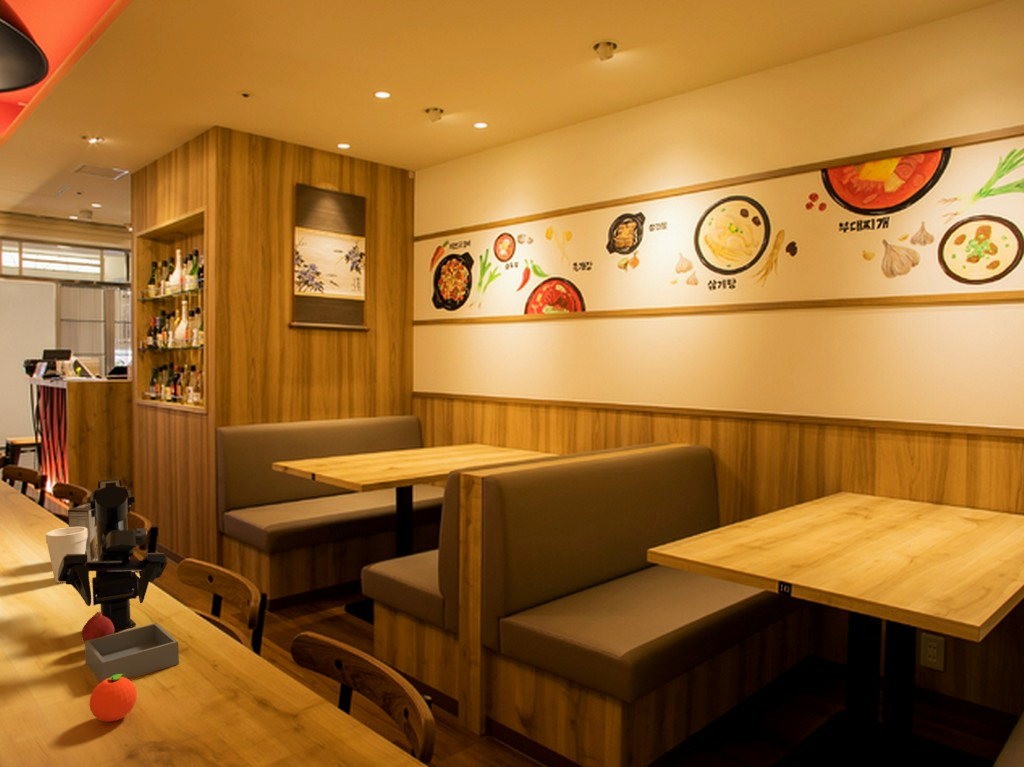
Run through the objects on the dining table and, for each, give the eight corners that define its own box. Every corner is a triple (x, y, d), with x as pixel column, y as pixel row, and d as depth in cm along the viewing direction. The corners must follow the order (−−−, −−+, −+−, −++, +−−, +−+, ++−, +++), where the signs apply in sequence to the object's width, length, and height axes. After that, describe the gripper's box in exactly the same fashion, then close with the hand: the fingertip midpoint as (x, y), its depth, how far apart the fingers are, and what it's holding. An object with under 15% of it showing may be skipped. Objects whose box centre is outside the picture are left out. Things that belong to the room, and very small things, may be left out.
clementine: (106, 706, 124) (104, 666, 124) (147, 704, 124) (145, 664, 124) (81, 731, 116) (79, 688, 116) (125, 729, 116) (124, 686, 116)
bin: (85, 663, 140) (84, 641, 140) (157, 643, 150) (156, 622, 149) (103, 686, 131) (102, 662, 131) (179, 664, 140) (178, 641, 140)
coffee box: (89, 555, 213) (87, 502, 212) (110, 555, 212) (108, 502, 211) (69, 565, 204) (66, 509, 203) (91, 565, 203) (88, 509, 202)
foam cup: (74, 584, 187) (72, 535, 186) (39, 584, 187) (37, 536, 186) (96, 573, 196) (94, 526, 196) (63, 573, 197) (61, 526, 196)
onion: (78, 657, 143) (76, 618, 143) (87, 645, 149) (85, 608, 148) (110, 653, 145) (109, 615, 144) (118, 642, 150) (116, 605, 150)
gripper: (70, 512, 139) (70, 582, 130) (171, 514, 151) (179, 578, 142) (57, 546, 145) (57, 615, 135) (156, 545, 156) (162, 609, 147)
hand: (116, 603), depth 140 cm, fingers open, 9 cm apart
